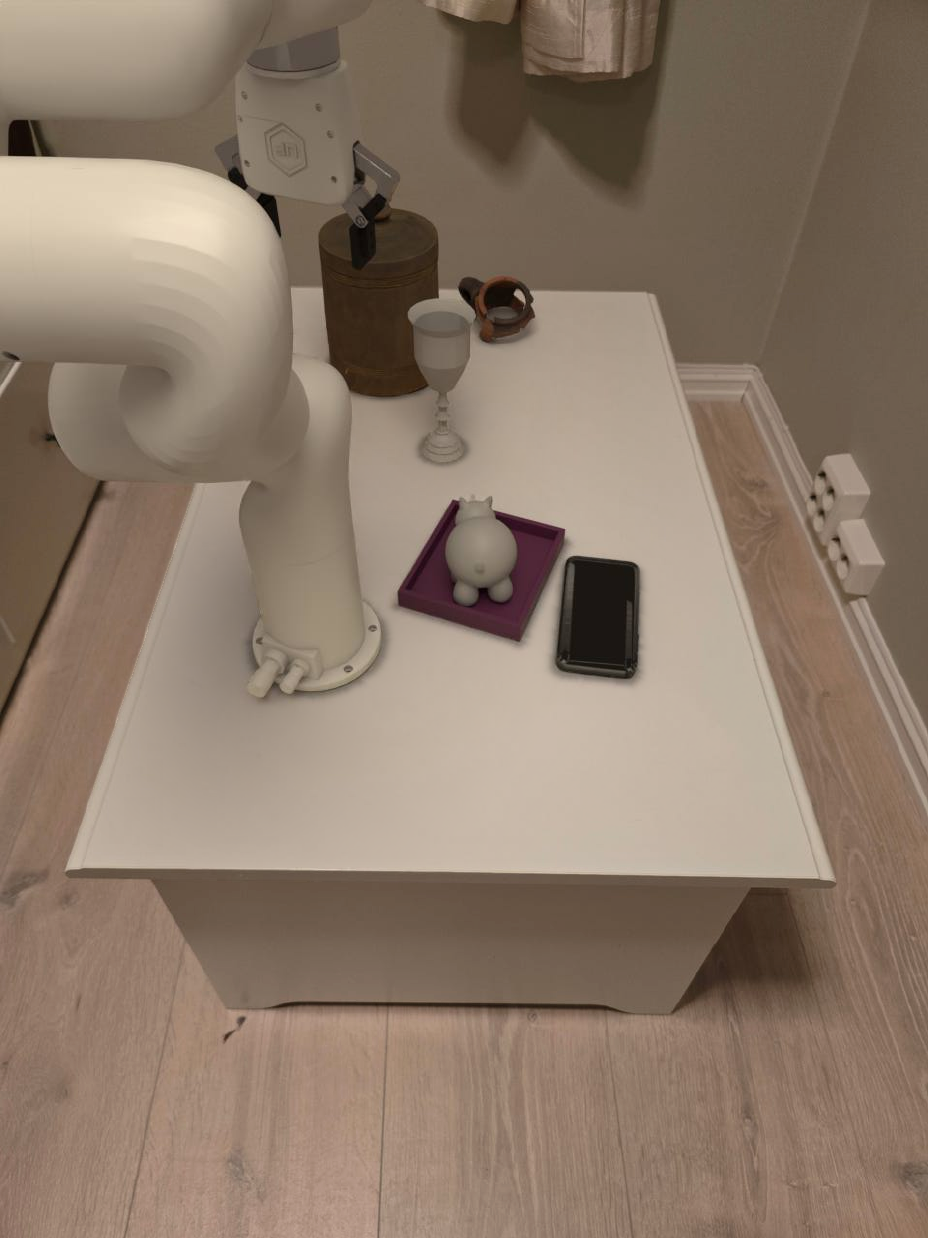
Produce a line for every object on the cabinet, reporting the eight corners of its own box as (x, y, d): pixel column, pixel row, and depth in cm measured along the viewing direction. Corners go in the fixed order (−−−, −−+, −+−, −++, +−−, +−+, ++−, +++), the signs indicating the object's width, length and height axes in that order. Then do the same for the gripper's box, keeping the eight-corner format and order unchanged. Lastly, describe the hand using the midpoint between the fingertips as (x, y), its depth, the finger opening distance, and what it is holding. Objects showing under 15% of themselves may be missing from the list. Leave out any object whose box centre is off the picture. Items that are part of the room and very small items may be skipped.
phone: (555, 663, 86) (566, 554, 95) (554, 670, 86) (565, 561, 96) (638, 672, 85) (640, 562, 95) (636, 680, 86) (639, 569, 95)
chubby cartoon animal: (506, 529, 99) (509, 469, 92) (518, 610, 91) (523, 550, 84) (441, 532, 98) (440, 472, 92) (447, 613, 90) (447, 553, 84)
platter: (519, 641, 89) (520, 627, 87) (398, 605, 92) (397, 591, 90) (563, 543, 98) (565, 528, 97) (452, 513, 101) (452, 498, 100)
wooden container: (438, 334, 126) (435, 173, 110) (443, 395, 116) (441, 229, 100) (333, 337, 125) (314, 175, 109) (329, 399, 116) (308, 232, 99)
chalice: (475, 434, 111) (478, 300, 98) (470, 469, 107) (472, 333, 93) (416, 430, 111) (412, 296, 98) (409, 464, 107) (403, 329, 93)
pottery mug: (542, 317, 130) (549, 285, 122) (512, 369, 129) (516, 341, 121) (470, 279, 131) (472, 246, 123) (439, 331, 130) (439, 301, 121)
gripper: (169, 42, 70) (214, 254, 83) (370, 72, 66) (384, 290, 78) (220, 15, 74) (255, 220, 87) (411, 42, 70) (417, 252, 83)
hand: (316, 253), depth 83 cm, fingers open, 9 cm apart
